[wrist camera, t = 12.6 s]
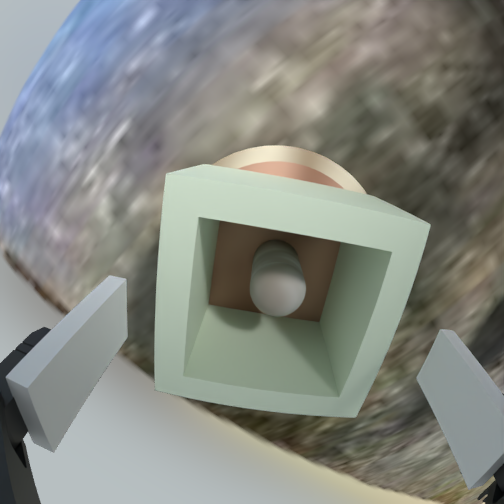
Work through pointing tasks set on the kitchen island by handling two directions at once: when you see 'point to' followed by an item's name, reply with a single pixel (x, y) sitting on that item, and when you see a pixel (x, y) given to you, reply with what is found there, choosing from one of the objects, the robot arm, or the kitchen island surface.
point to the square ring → (279, 328)
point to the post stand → (277, 244)
